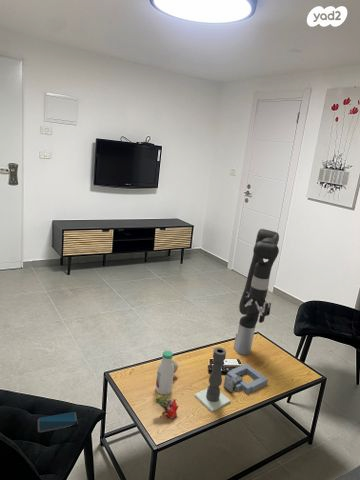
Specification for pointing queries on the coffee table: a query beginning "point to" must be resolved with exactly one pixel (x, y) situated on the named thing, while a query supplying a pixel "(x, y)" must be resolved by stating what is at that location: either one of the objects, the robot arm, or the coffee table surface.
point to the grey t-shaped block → (231, 382)
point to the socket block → (258, 378)
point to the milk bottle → (165, 374)
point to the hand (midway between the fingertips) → (253, 318)
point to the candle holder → (216, 375)
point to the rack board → (210, 405)
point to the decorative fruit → (175, 365)
